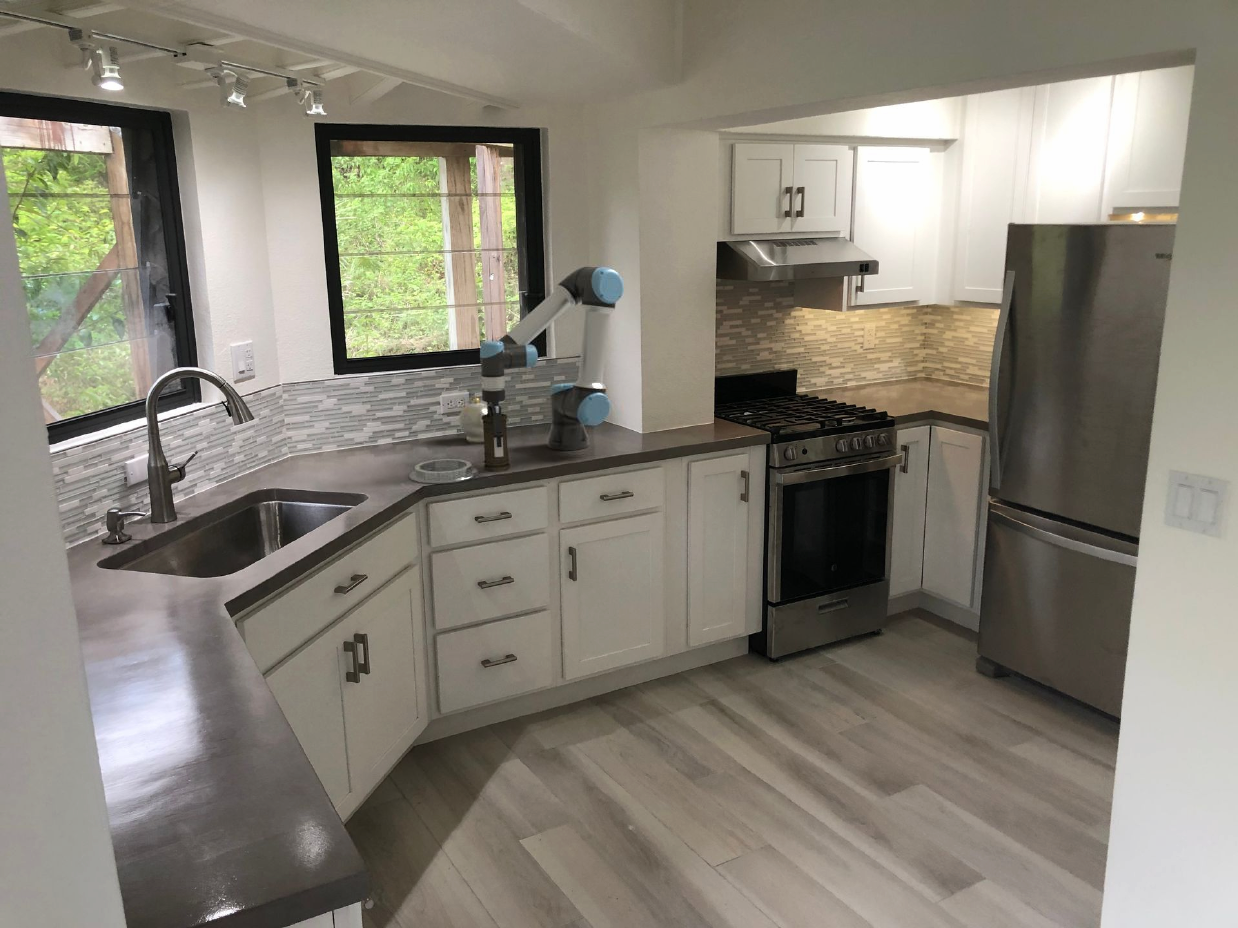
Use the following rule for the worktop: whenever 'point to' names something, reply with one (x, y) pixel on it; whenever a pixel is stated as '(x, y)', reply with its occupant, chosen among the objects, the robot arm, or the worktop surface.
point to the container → (490, 459)
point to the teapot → (473, 421)
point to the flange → (443, 471)
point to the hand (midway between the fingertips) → (495, 452)
